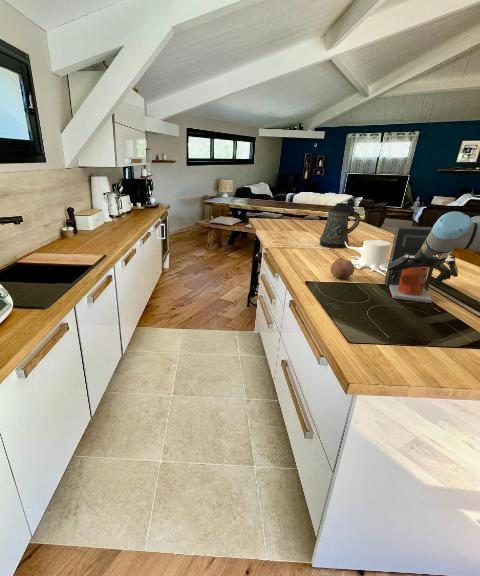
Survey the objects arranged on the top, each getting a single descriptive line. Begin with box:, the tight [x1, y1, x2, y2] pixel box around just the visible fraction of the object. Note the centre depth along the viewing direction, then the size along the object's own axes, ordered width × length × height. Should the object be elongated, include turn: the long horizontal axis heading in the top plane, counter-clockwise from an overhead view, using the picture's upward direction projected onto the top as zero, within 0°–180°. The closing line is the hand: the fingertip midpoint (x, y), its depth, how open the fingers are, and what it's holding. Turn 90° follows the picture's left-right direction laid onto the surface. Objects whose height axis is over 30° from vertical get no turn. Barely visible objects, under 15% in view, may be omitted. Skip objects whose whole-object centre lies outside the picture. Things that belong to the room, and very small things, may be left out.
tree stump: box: [345, 239, 392, 277], centre depth 153 cm, size 28×28×11 cm
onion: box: [329, 257, 355, 281], centre depth 137 cm, size 10×9×10 cm
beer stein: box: [319, 202, 361, 249], centre depth 187 cm, size 16×19×25 cm
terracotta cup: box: [397, 266, 430, 296], centre depth 118 cm, size 8×8×11 cm
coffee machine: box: [384, 225, 435, 304], centre depth 118 cm, size 14×18×24 cm
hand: (414, 279), depth 116 cm, fingers open, 13 cm apart
